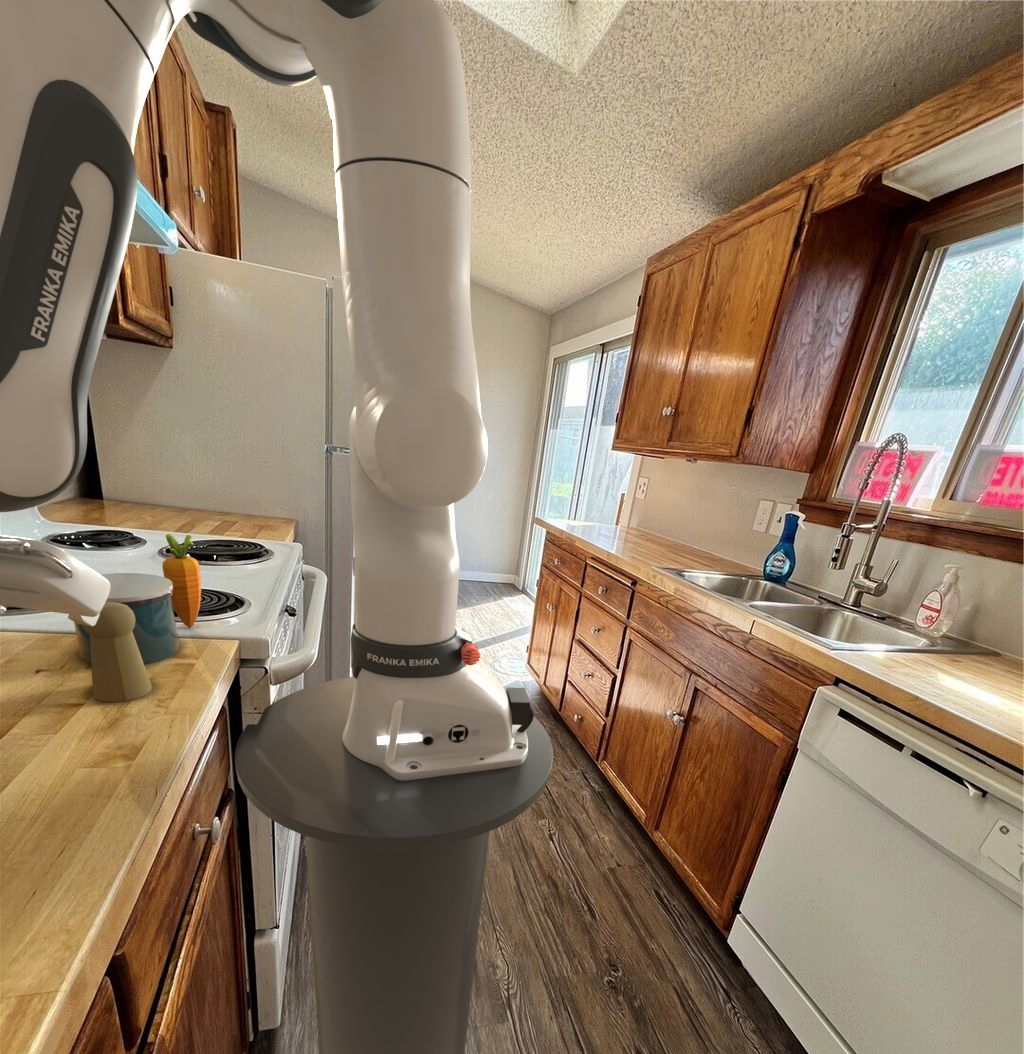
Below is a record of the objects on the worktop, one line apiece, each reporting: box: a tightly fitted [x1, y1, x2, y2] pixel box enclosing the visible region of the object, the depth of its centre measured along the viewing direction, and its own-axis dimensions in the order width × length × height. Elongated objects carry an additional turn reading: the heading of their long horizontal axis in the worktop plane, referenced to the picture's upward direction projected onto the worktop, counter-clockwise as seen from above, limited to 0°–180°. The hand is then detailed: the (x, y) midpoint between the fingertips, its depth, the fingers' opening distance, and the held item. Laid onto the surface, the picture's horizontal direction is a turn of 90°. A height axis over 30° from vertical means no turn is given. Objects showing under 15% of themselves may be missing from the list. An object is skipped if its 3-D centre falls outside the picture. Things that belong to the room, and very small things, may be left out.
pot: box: [73, 572, 180, 665], centre depth 77 cm, size 12×12×10 cm
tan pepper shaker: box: [82, 602, 153, 703], centre depth 66 cm, size 6×6×11 cm
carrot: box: [161, 533, 202, 629], centre depth 86 cm, size 5×5×15 cm
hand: (45, 613), depth 56 cm, fingers open, 8 cm apart
